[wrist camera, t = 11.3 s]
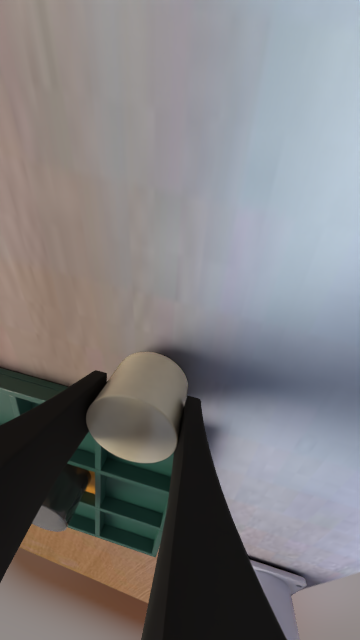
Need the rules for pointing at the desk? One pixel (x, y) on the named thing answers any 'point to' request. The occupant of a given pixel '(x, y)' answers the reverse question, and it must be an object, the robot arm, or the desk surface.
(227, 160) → the desk surface
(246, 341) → the desk surface
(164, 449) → the cream stone
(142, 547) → the board
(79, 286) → the desk surface
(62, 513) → the dark grey cylinder
